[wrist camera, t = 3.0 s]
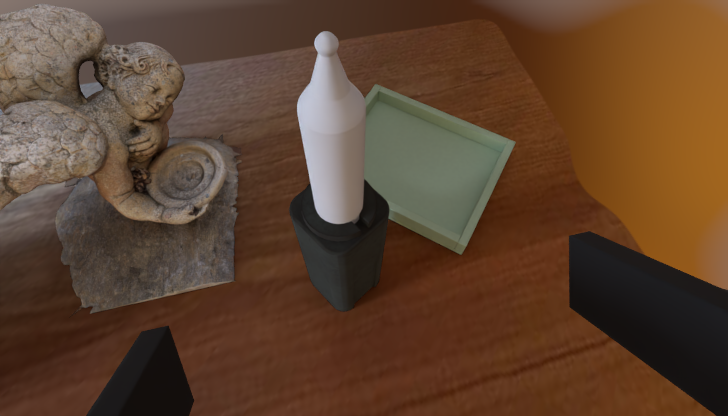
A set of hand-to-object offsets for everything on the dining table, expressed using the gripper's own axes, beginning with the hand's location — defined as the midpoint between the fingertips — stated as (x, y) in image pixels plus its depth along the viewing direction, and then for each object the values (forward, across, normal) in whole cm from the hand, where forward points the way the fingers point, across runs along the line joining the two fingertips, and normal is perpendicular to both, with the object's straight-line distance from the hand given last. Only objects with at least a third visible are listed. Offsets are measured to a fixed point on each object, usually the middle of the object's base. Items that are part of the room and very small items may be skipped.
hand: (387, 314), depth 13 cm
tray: (+28, +9, -1) cm, 30 cm away
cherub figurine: (+29, -17, -1) cm, 33 cm away
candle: (+21, 0, -9) cm, 23 cm away
